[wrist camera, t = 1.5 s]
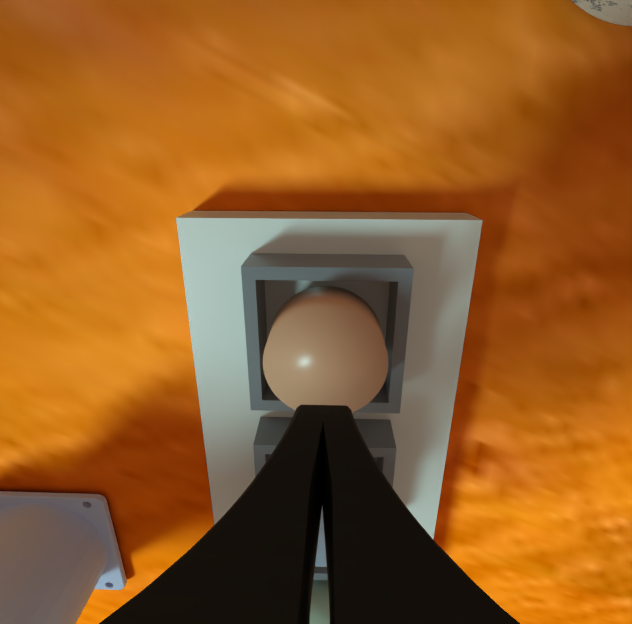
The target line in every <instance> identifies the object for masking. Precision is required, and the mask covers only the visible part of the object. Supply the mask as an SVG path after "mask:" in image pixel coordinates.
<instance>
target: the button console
mask: <svg viewBox="0 0 632 624" xmlns="http://www.w3.org/2000/svg"><path fill="white" fill-rule="evenodd" d="M176 221H177V229H178V237H179V245H180V253H181V261H182V269H183V277H184V285H185V293H186V301H187V309H188V317H189V325H190V333H191V341H192V349H193V357H194V365H195V373H196V381H197V389H198V397H199V405H200V413H201V421H202V429H203V438H204V446H205V454H206V462H207V470H208V478H209V486H210V494H211V502H212V510H213V518H214V525H215V524H216V523H217V522H218V521H219V520H220V519H221V518H222V517H223V516H224V514H225V513H226V512H227V511H228V510H229V509H230V508H231V507H232V505H233V504H234V503H235V502H236V501H237V500H238V498H239V497H240V496H241V495H242V494H243V492H244V491H245V490H246V489H247V487H248V486H249V485H250V484H251V482H252V481H253V480H254V478H255V477H256V475H257V474H258V473H259V471H260V470H261V469H262V467H263V466H264V464H265V463H266V462H267V460H268V459H269V457H270V456H271V454H272V453H273V451H274V449H275V448H276V446H277V445H278V443H279V441H280V440H281V438H282V437H283V435H284V433H285V431H286V429H287V428H288V426H289V424H290V422H291V420H292V418H293V415H294V413H295V410H294V409H292V408H290V407H288V406H287V405H286V404H284V403H283V402H282V401H281V400H280V399H279V398H278V397H277V396H276V395H275V394H274V393H273V391H272V390H271V388H270V387H269V385H268V383H267V380H266V378H265V374H264V370H263V354H264V349H265V346H266V343H267V340H268V337H269V334H270V331H271V328H272V325H273V322H274V319H275V316H276V314H277V312H278V311H279V309H280V308H281V307H282V305H283V304H284V303H285V302H286V301H287V300H289V299H290V298H291V297H292V296H294V295H295V294H297V293H299V292H301V291H303V290H306V289H309V288H313V287H319V286H332V287H338V288H343V289H346V290H349V291H351V292H353V293H355V294H356V295H358V296H359V297H361V298H362V299H363V300H364V301H366V302H367V303H368V304H369V306H370V307H371V308H372V309H373V311H374V313H375V314H376V316H377V319H378V321H379V324H380V328H381V331H382V335H383V339H384V342H385V346H386V349H387V354H388V372H387V376H386V379H385V382H384V384H383V386H382V388H381V389H380V391H379V392H378V394H377V395H376V396H375V397H374V398H373V399H372V400H371V401H370V402H369V403H368V404H367V405H365V406H364V407H362V408H360V409H359V410H357V411H355V412H352V414H353V417H354V420H355V422H356V425H357V427H358V429H359V431H360V433H361V435H362V437H363V440H364V441H365V443H366V445H367V447H368V449H369V451H370V452H371V454H372V456H373V458H374V459H375V461H376V463H377V465H378V466H379V468H380V469H381V471H382V473H383V474H384V476H385V477H386V479H387V480H388V482H389V483H390V485H391V486H392V488H393V489H394V491H395V492H396V493H397V495H398V496H399V498H400V499H401V500H402V502H403V503H404V504H405V506H406V507H407V508H408V510H409V511H410V512H411V513H412V515H413V516H414V517H415V518H416V520H417V521H418V522H419V523H420V525H421V526H422V527H423V528H424V529H425V530H426V532H427V533H428V534H429V535H430V536H431V537H432V539H434V532H435V526H436V519H437V513H438V507H439V500H440V494H441V487H442V481H443V474H444V468H445V461H446V455H447V448H448V442H449V435H450V429H451V422H452V416H453V409H454V403H455V396H456V390H457V383H458V377H459V370H460V364H461V357H462V351H463V345H464V338H465V332H466V325H467V319H468V312H469V306H470V299H471V293H472V286H473V280H474V273H475V267H476V260H477V254H478V247H479V241H480V234H481V228H482V221H483V220H481V219H479V218H477V217H475V216H473V215H471V214H468V213H448V212H312V211H190V212H188V213H186V214H183V215H181V216H179V217H177V218H176ZM313 580H328V576H327V567H318V566H315V570H314V579H313Z"/></svg>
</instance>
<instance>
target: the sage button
mask: <svg viewBox="0 0 632 624" xmlns="http://www.w3.org/2000/svg"><path fill="white" fill-rule="evenodd" d="M310 624H330V611H329V590H328V580H313V587H312V596H311V608H310Z"/></svg>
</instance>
